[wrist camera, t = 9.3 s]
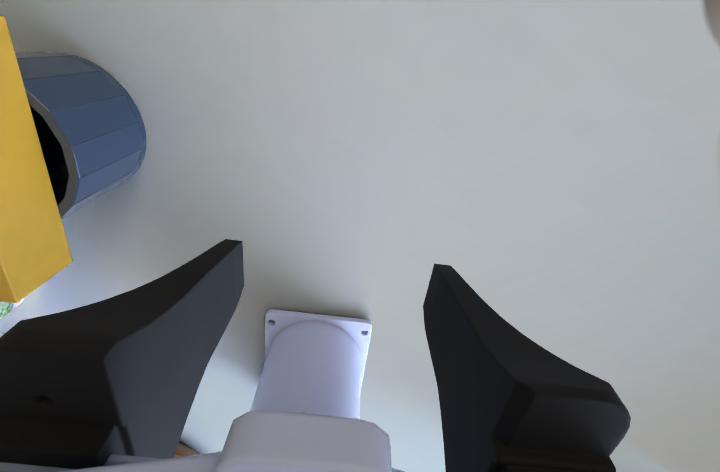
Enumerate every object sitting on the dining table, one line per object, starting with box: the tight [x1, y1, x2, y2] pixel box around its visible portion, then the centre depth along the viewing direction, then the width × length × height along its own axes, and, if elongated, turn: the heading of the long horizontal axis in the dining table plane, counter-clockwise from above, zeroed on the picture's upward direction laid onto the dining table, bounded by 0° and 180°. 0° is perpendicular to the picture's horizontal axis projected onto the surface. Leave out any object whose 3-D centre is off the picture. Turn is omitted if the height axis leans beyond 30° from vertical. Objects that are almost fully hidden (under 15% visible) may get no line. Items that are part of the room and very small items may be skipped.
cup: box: [15, 52, 146, 219], centre depth 19 cm, size 8×8×6 cm
